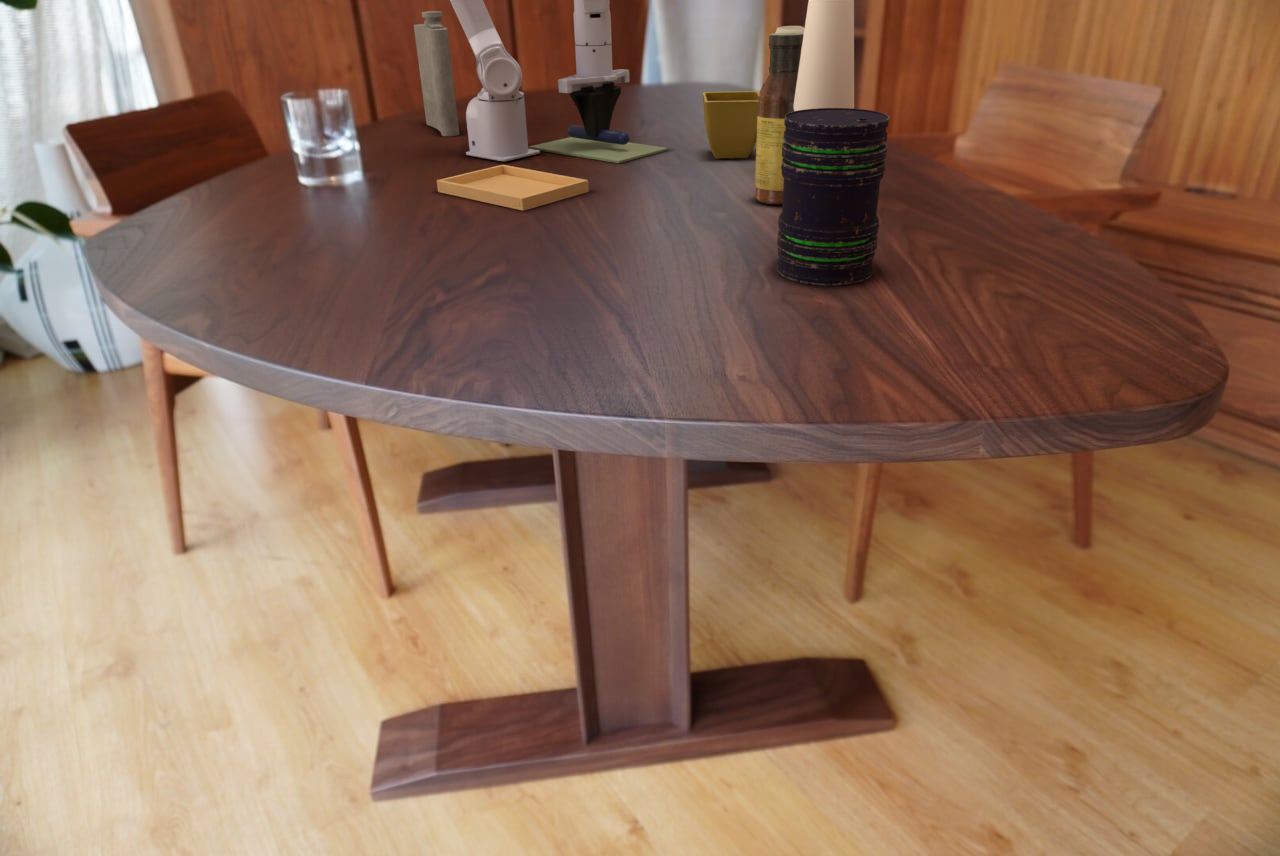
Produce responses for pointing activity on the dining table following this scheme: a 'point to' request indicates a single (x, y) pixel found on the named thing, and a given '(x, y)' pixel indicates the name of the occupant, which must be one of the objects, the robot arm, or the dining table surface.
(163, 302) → the dining table surface
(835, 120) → the black cylinder
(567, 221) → the dining table surface
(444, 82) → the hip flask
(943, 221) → the dining table surface
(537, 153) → the robot arm
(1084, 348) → the dining table surface
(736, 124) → the flower pot
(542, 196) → the tray
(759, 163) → the sauce bottle
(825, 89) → the cream tapered cone
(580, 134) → the pen
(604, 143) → the mat
